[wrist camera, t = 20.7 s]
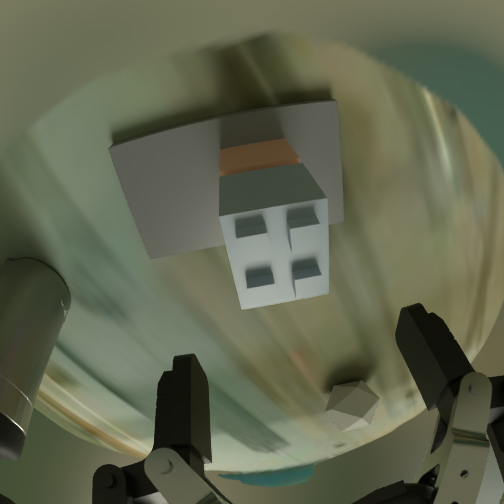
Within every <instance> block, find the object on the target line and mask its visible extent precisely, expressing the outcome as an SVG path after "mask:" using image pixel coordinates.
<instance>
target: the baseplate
mask: <svg viewBox="0 0 504 504" xmlns="http://www.w3.org/2000/svg"><path fill="white" fill-rule="evenodd" d="M284 138H285V139H286V140H287V142H288V143H289V144H290V146H291V147H292V148H293V150H294V151H295V152H296V154H297V155H298V156H299V158H300V163H303V164H304V166H305V167H306V168H307V170H308V171H309V172H310V174H311V175H312V177H313V178H314V179H315V181H316V182H317V184H318V185H319V187H320V188H321V189H322V191H323V192H324V194H325V195H326V197H327V200H328V225H330V224H336V223H341V222H344V208H343V179H342V159H341V144H340V131H339V119H338V108H337V100H334V99H322V100H312V101H303V102H295V103H288V104H281V105H274V106H267V107H261V108H255V109H249V110H244V111H239V112H233V113H228V114H223V115H219V116H214V117H209V118H205V119H200V120H196V121H192V122H188V123H184V124H180V125H176V126H172V127H168V128H165V129H161V130H157V131H154V132H150V133H147V134H143V135H140V136H137V137H133V138H130V139H127V140H124V141H121V142H118V143H115V144H112V145H111V146H110V147H109V148H108V149H109V152H110V155H111V158H112V161H113V164H114V167H115V170H116V173H117V175H118V178H119V181H120V184H121V187H122V189H123V192H124V195H125V197H126V200H127V203H128V205H129V208H130V211H131V213H132V216H133V218H134V221H135V223H136V226H137V228H138V231H139V233H140V236H141V238H142V241H143V243H144V245H145V248H146V250H147V253H148V255H149V257H150V259H155V258H160V257H165V256H170V255H175V254H180V253H185V252H190V251H195V250H200V249H205V248H210V247H215V246H220V245H225V240H224V236H223V232H222V228H221V224H220V219H219V177H220V176H221V175H220V149H225V148H230V147H235V146H241V145H246V144H252V143H258V142H264V141H270V140H277V139H284Z"/></svg>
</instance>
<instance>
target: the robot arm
mask: <svg viewBox="0 0 504 504" xmlns="http://www.w3.org/2000/svg"><path fill="white" fill-rule="evenodd" d="M70 304H71V298H70V294H69V291H68V288H67V287H66V285H65V283H64V282H63V280H62V279H61V278H60V276H59V275H58V274H57V273H56V272H55V271H53V270H52V269H51V268H49V267H48V266H47V265H45V264H43V263H41V262H39V261H37V260H34V259H29V258H20V259H18V260H15V261H12V260H9V259H6V261H5V262H4V263H3V265H2V266H1V267H0V459H5V460H16V459H18V458H19V457H20V455H21V453H22V449H23V446H24V441H25V436H26V433H27V429H28V425H29V421H30V418H31V414H32V410H33V407H34V404H35V400H36V397H37V394H38V391H39V387H40V384H41V381H42V378H43V375H44V372H45V369H46V367H47V364H48V361H49V358H50V355H51V353H52V350H53V347H54V345H55V342H56V340H57V337H58V335H59V332H60V329H61V327H62V325H63V323H64V321H65V318H66V315H67V313H68V310H69V308H70ZM395 337H396V342H397V345H398V348H399V350H400V352H401V354H402V356H403V358H404V360H405V362H406V364H407V366H408V368H409V370H410V372H411V374H412V376H413V378H414V380H415V382H416V385H417V387H418V389H419V391H420V393H421V395H422V398H423V400H424V402H425V404H426V407H427V409H428V411H430V410H432V409H434V408H438V411H439V414H438V417H437V421H436V425H435V428H434V432H433V436H432V439H431V442H430V446H429V449H428V452H427V455H426V457H425V459H424V461H423V462H422V464H421V466H420V468H419V470H418V473H417V475H416V478H415V481H414V483H405V484H404V481H403V480H402V481H399V482H396V483H394V484H391V485H388V486H386V487H383V488H380V489H377V490H375V491H373V492H372V493H370V494H368V495H367V496H365V497H363V498H361V499H360V500H358V501H356V502H354V503H352V504H475V502H476V499H477V496H478V492H479V489H480V485H481V482H482V478H483V474H484V470H485V466H486V462H487V458H488V453H489V447H490V443H489V440H490V442H491V445H492V447H493V451H494V453H495V457H496V459H497V462H498V465H499V469H500V472H501V475H502V478H503V482H504V375H503V376H496V377H487V376H486V375H484V374H483V373H480V372H476V371H475V370H474V369H473V367H472V366H471V364H470V363H469V361H468V359H467V357H466V356H465V354H464V352H463V351H462V349H461V347H460V346H459V344H458V343H457V341H456V340H455V339H454V336H453V335H452V333H451V332H450V331H449V328H448V327H447V325H446V324H445V322H444V321H443V319H441V318H440V317H439V316H437V315H436V314H435V313H433V312H432V313H429V314H428V313H427V311H426V310H425V308H424V307H423V305H422V304H420V303H416V304H413V305H410V306H407V307H403V308H402V309H401V311H400V316H399V320H398V324H397V328H396V333H395ZM156 406H157V408H156V416H155V432H154V445H153V449H152V451H151V453H150V454H149V455H148V456H147V457H146V458H145V459H144V460H142V461H140V462H138V463H134V464H131V465H128V466H125V467H122V468H119V467H117V466H115V465H112V464H106V465H103V466H101V467H99V468H98V469H97V470H96V472H95V473H94V476H93V489H92V490H93V491H92V504H164V503H167V502H168V503H169V504H234V503H233V502H232V501H230V499H229V498H228V497H226V496H225V495H224V494H223V493H222V492H221V491H220V490H219V489H218V488H217V487H216V486H215V485H214V484H213V483H212V482H211V481H210V480H209V479H208V478H207V477H206V475H205V474H204V464H206V463H212V453H211V433H210V410H209V386H208V380H207V377H206V374H205V372H204V370H203V369H202V367H201V365H200V363H199V361H198V359H197V357H196V355H195V354H186V355H179V356H175V357H174V359H173V370H172V371H164V373H163V375H162V376H161V378H160V380H159V382H158V389H157V402H156ZM486 432H487V434H488V437H489V440H487V439H486ZM0 504H15V503H14V502H13V501H12V500H11V499H9V498H8V497H6V496H4V495H2V494H0ZM499 504H504V493H503V495H502V498H501V500H500V503H499Z"/></svg>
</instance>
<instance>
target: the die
mask: <svg viewBox="0 0 504 504" xmlns="http://www.w3.org/2000/svg"><path fill="white" fill-rule="evenodd" d="M379 399H380V398H379V397H378V396H377V395H376V394H375V393H374V392H373V391H372V390H371V389H370V388H369V387H368V386H367V385H366V384H365V383H364V382H363V381H362V380H359V381H355V382H350V383H345V384H340V385H335V386H333V389H332V392H331V395H330V398H329V401H328V405H327V408H326V411H325V413H326V414H327V415H328V416H329V418H330V419H331V420H332V421H333V423H334V424H335V425H336V426H337V428H338V429H339V430H340V431H341V432H344V431H348V430H352V429H357V428H361V427H365V426H369V425H370V424H371V421H372V419H373V416H374V413H375V410H376V408H377V405H378V402H379Z"/></svg>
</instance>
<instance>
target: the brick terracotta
mask: <svg viewBox="0 0 504 504" xmlns="http://www.w3.org/2000/svg"><path fill="white" fill-rule="evenodd" d="M297 163H300V158H299V156H298V155H297V154H296V152H295V151H294V150H293V148H292V147H291V146H290V144H289V143H288V142H287V140H286V139H285V138H284V139H277V140H270V141H264V142H258V143H252V144H246V145H241V146H235V147H230V148H225V149H220V175H221V176H225V175H231V174H236V173H241V172H247V171H253V170H259V169H265V168H271V167H277V166H283V165H290V164H297Z"/></svg>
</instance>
